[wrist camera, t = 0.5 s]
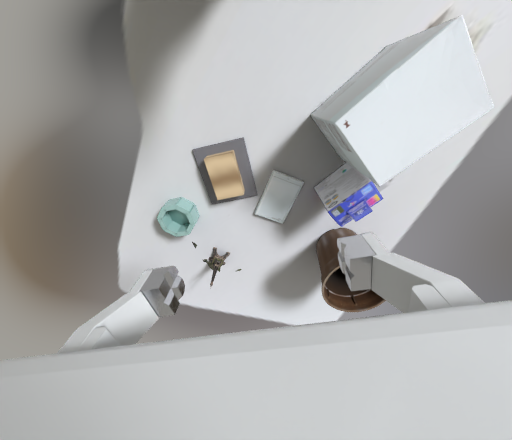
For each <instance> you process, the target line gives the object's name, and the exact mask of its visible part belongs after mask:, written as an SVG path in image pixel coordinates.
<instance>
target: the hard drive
mask: <svg viewBox="0 0 512 440" xmlns="http://www.w3.org/2000/svg"><path fill="white" fill-rule="evenodd" d="M303 184H304V181H301V180H299V179H296V178H293V177H291V176H288V175H286V174H283V173H281V172H278V171H276V170H273V171H272V173H271V176H270V178H269V180H268V183H267V185H266V187H265V189H264V192H263V194H262V196H261V199H260V201H259V203H258V206H257V208H256V210H255V214H256V215H259V216H262V217H264V218H267V219H270V220H273V221H276V222H279V223H282V224H283V223H284V221H285V219H286V217H287V215H288V213H289V211H290V209H291V207H292V205H293V203H294V202H295V200H296V198H297V196H298V194H299V192H300V190H301V188H302V186H303Z"/></svg>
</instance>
